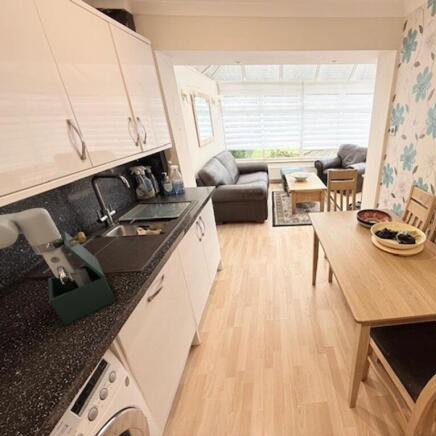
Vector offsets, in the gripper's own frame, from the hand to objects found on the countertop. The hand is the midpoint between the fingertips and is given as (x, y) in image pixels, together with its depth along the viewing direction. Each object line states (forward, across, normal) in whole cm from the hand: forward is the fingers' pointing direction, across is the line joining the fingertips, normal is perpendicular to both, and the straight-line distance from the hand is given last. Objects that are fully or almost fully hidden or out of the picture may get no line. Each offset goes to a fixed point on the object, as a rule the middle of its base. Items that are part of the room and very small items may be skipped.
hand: (72, 284), depth 86 cm
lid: (-10, 0, -6) cm, 12 cm away
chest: (+9, 0, -2) cm, 9 cm away
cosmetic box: (+8, +1, -2) cm, 8 cm away
